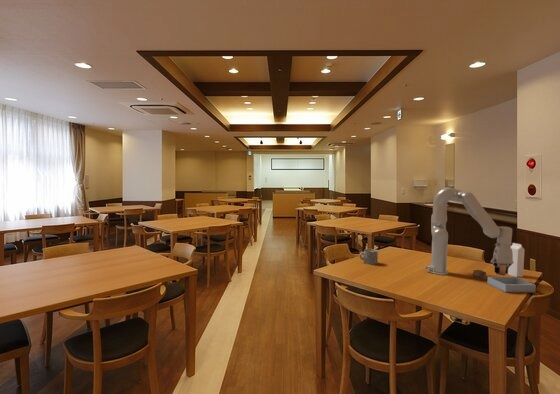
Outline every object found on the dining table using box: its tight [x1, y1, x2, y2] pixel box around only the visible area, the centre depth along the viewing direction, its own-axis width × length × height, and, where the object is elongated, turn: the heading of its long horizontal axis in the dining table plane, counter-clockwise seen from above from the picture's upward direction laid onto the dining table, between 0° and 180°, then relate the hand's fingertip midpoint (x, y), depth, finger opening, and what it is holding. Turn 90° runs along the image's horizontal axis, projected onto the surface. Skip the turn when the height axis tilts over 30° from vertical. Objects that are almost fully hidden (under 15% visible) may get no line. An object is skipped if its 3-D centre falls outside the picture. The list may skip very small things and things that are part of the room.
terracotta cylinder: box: [496, 263, 507, 277], centre depth 196 cm, size 5×5×7 cm
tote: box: [486, 276, 537, 294], centre depth 180 cm, size 18×15×4 cm
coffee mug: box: [359, 248, 379, 266], centre depth 233 cm, size 13×10×10 cm
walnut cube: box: [472, 269, 487, 281], centre depth 197 cm, size 5×5×5 cm
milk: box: [507, 242, 525, 278], centre depth 205 cm, size 6×6×22 cm
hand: (500, 272), depth 196 cm, fingers closed on terracotta cylinder, 5 cm apart
